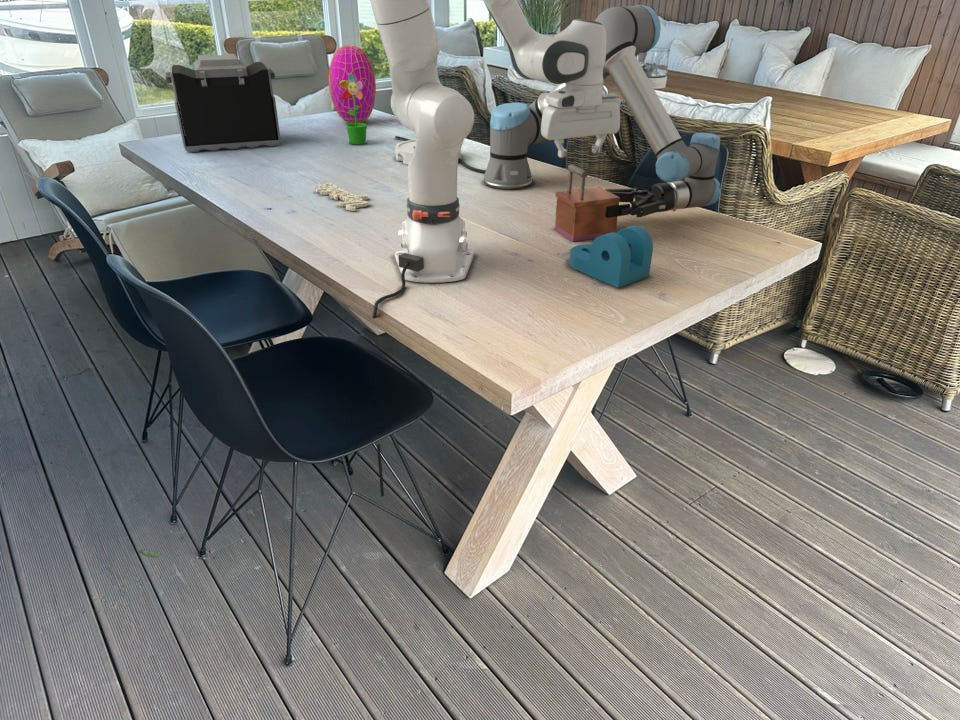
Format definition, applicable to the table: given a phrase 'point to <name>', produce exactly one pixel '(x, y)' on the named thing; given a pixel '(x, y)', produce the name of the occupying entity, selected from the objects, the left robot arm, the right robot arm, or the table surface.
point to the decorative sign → (343, 196)
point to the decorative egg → (361, 68)
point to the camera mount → (615, 256)
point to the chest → (584, 220)
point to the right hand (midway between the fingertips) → (596, 206)
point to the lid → (584, 192)
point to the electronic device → (225, 104)
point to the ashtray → (407, 151)
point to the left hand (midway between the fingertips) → (579, 154)
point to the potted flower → (354, 129)
